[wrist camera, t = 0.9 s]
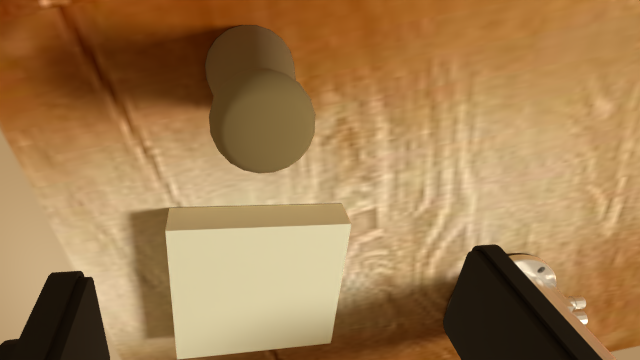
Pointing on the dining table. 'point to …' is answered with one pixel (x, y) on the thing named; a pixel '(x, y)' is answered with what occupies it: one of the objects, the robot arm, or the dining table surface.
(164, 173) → the dining table surface
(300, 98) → the cork
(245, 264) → the cream block
